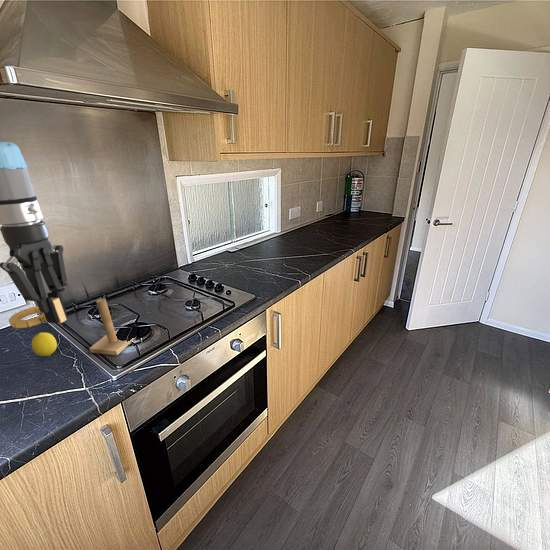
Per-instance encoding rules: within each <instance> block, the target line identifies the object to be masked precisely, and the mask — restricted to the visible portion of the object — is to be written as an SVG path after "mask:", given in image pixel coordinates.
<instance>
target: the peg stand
mask: <svg viewBox="0 0 550 550" xmlns="http://www.w3.org/2000/svg"><path fill="white" fill-rule="evenodd" d="M95 303H96V305H97V310H98V311H99V315H100V318H101V319H100V320H101V323H102V325H103V329H104V332H105V335H103V337H101V338H100V339H99V340H98V341H97V342H95V343H94V344H93V345H92V346H90V347H89V352H90V353H93V354H100V355H110V356H118V355H119V354H121V353H122V352H123V351H124V350H125V349H126V348H127V347H128V346H129V345H130V344H131V343H132V342H133V341H134V340H135V339H136V338H137V336H136V337H135V338H132V339H131V340H130V341H128V342H127V341H119V340H118V339H117V336H116V334H117V332H118V331H116V329H115V327H114V322H113V320H112V316H111V312H110V310H109V305H108V303H107V299H106V298H105V297H104V298H99V299H98V298H97V300H96V301H95Z"/></svg>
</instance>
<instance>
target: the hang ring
mask: <svg viewBox="0 0 550 550" xmlns="http://www.w3.org/2000/svg"><path fill="white" fill-rule="evenodd" d="M51 299H52V302H53V305H54V307H55V310H56V313H57V316H58V318H59V321H60V322H59V323H58V324H63V323H64V322H65V321H67V320H68V319H67V317H66V316H65V314H64V311H63V308H62V305H61V302H60V300H59V298H52V297H51ZM36 314H40V315H37V316H35V317H31V318H28V319H27V318H26V317H29V316H33V315H36ZM25 318H26V319H25ZM44 322H47V320H46V317H45V315H44V313H43V312H40V310H39V307H38V305H36V306H31V307H29V308H25V309H23V310H19V311H18V312H16V313H13V314H12V315H11V316H10V318H9V319H8V323H9V326H11V327H12V328H14V329H25V328H26V329H27V328H30V327H34V326H37V325H40V324H42V323H44Z"/></svg>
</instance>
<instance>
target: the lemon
mask: <svg viewBox="0 0 550 550" xmlns="http://www.w3.org/2000/svg"><path fill="white" fill-rule="evenodd" d="M57 348H58V342H57V340H56V337H54V335H53V334H51V333H49V332H38V333H37V334H36V335H34V337H33V338H32V340H31V349H32V350H33V352H34V353H35V354H36V356H37V355H38V356H39V357H50V356H52V354H54V353H55V352H56V350H57Z"/></svg>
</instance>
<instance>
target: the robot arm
mask: <svg viewBox="0 0 550 550" xmlns="http://www.w3.org/2000/svg"><path fill="white" fill-rule="evenodd" d="M43 218H44V216H43V212H42V210H41V207H40V204H39V200H38V198H37V196H36V192H35V189H34V185H33V183H32V179H31V176H30V173H29V170H28V165H27V163H26V161H25V159H24V156H23V154H22V152H21V149H20V148H19V146H18V145H17V144H16V143H13V142H9V141H0V225H1V226H0V234H1V236H2V238H3V241H4V243H5V244H6V246H8V248H9V253H8V254H9V258H8V259H7V260H6V261H2V262H0V269H1V270H3V271H4V272H6V273H7V274H8V276H9V278H10V279H11V281H12V283H13V284H14V286H15V287H16V289H17V290H18V292H19V294H20V295H21V296H22V298H23V300H24V301H26V302H36V306H38V307H39V310H40V312H43V313H44V315H45V317H46V320H47V321H46V322H47V323H48V324H60V323H59V322H60V321H59V318H58V316H57V313H56V310H55V307H54V305H53V302H52V299H51V297H52V298H59V300H60V302H61V305H62V308H63V311H64V314H65V316H66V318H67V317H68V313H67V311H66V307H65V305H64V303H65V298H64V295H63V293H64V292H65V291H66V288H65V287H67V286H68V278H67V273H66V267H65V266H66V265H65V261H64V246H63V245H62V244H61V245H60V244H53V243H52V242H51V240H50V239H49V238H50V233H49V230H48V227H47V224H46V222H45V221H44V220H42V219H43ZM42 277H43V278H42ZM43 280H44V282H45V284H46V286H47V288H48V290H49V291H50V292H47V293H46V288H45V285H44V282H43ZM43 313H42V314H43Z"/></svg>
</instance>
